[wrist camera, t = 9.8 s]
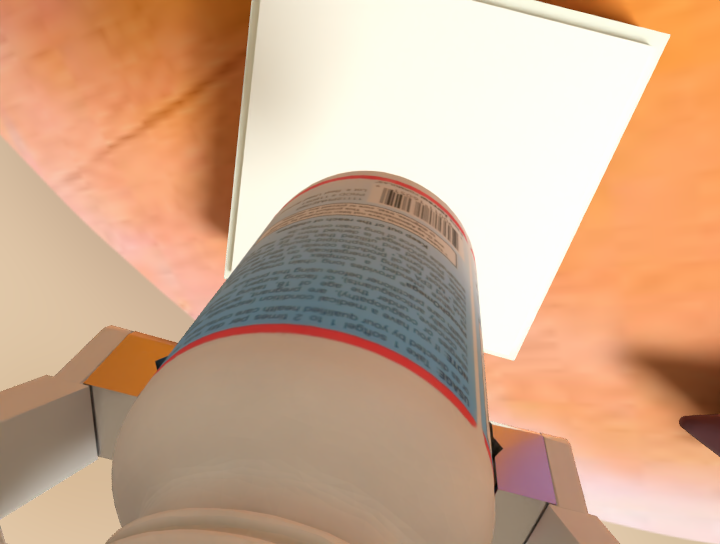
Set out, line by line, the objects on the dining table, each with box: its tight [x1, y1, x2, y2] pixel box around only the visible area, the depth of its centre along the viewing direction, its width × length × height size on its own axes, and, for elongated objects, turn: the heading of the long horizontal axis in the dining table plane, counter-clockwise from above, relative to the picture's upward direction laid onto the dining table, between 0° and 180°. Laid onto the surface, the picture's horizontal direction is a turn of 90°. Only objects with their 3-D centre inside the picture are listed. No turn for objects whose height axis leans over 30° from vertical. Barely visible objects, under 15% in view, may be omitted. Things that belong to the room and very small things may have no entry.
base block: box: [224, 0, 670, 361], centre depth 25 cm, size 16×16×4 cm
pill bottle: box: [106, 171, 495, 544], centre depth 10 cm, size 6×6×11 cm
